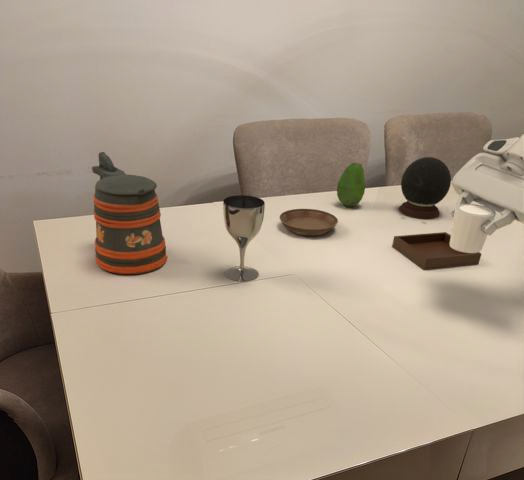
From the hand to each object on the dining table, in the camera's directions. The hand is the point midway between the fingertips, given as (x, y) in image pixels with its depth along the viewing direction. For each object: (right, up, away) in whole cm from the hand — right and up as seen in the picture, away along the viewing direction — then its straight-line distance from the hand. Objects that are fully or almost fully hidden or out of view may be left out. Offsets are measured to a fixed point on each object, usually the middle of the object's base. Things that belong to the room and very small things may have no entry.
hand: (468, 223), depth 89 cm
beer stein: (-66, -3, +19) cm, 69 cm away
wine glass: (-41, -7, +15) cm, 44 cm away
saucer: (-25, +8, +39) cm, 47 cm away
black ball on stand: (+8, +17, +54) cm, 57 cm away
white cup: (0, -4, +3) cm, 5 cm away
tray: (+4, 0, +28) cm, 28 cm away
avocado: (-12, +19, +56) cm, 60 cm away
